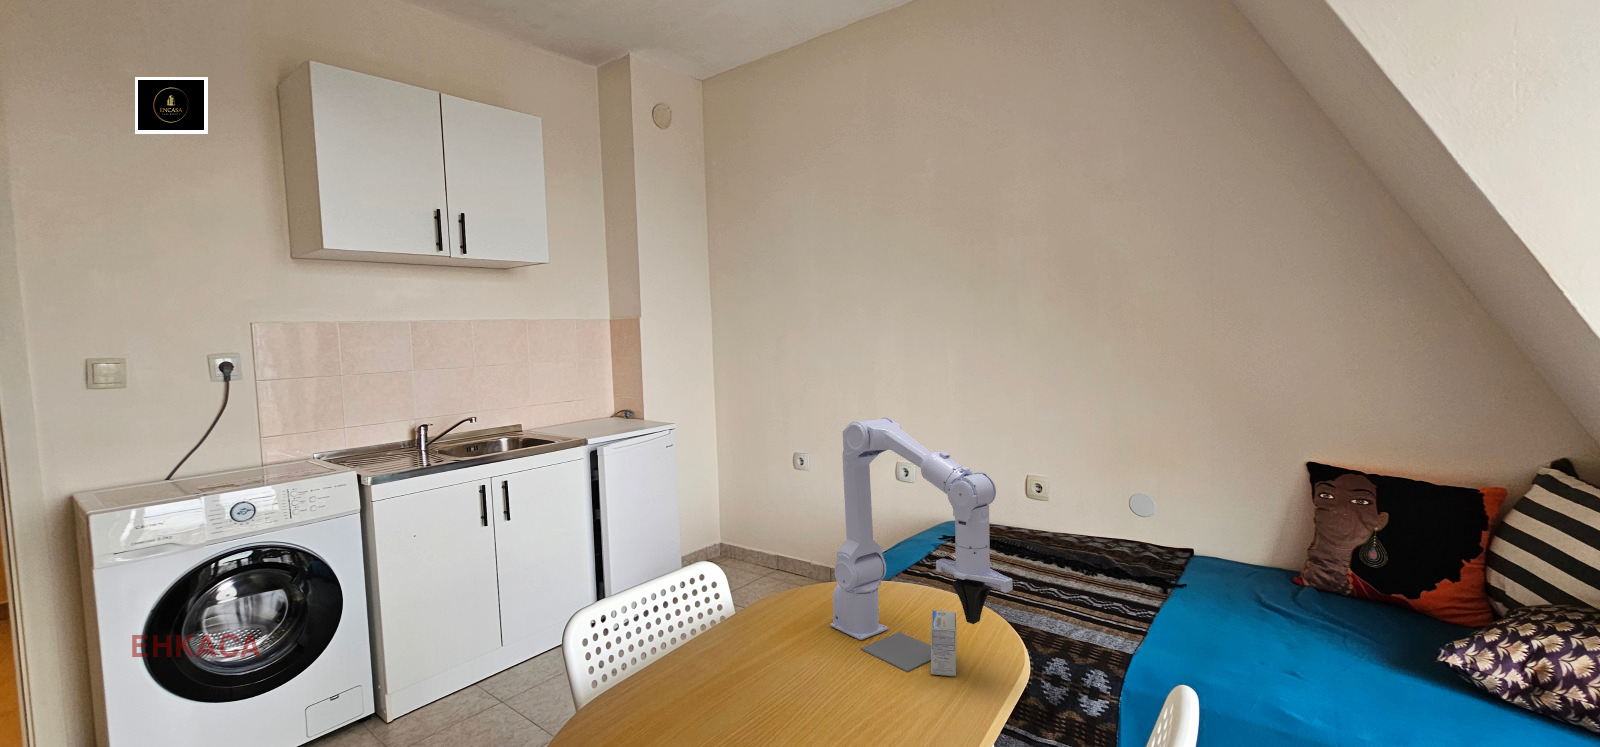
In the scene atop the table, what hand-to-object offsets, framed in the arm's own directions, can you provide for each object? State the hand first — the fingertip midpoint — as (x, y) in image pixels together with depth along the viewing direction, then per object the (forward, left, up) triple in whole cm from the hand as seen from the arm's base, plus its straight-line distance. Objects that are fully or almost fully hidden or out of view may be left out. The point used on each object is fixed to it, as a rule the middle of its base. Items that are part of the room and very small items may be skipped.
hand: (973, 621), depth 117 cm
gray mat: (-16, -1, -10) cm, 19 cm away
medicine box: (-7, 0, -10) cm, 12 cm away
